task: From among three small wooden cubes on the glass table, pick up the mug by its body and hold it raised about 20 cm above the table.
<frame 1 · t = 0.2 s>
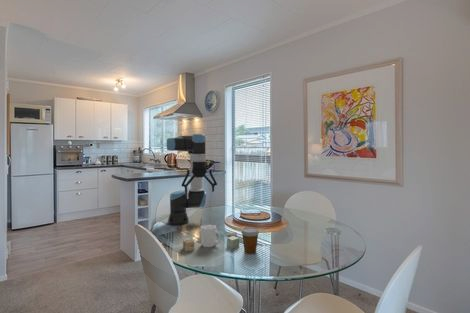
hand: (199, 197, 156), 28 cm above the table, fingers open, 13 cm apart
mug: (211, 245, 156), on the table
disposable coffee cup: (250, 251, 147), on the table
sage painted cube: (233, 246, 154), on the table
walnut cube: (232, 242, 161), on the table
oak cube: (188, 249, 151), on the table
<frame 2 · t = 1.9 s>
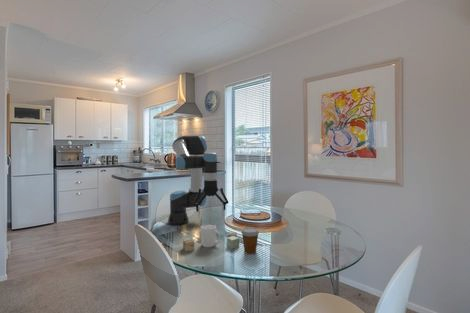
hand: (211, 216, 155), 17 cm above the table, fingers open, 13 cm apart
nothing on the table moved.
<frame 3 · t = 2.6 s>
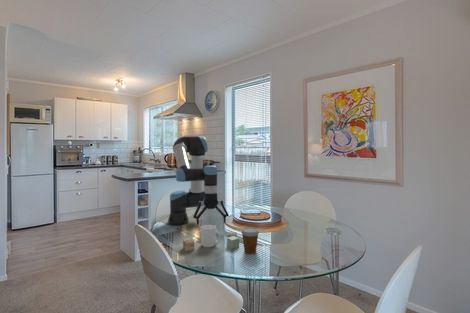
hand: (211, 229, 155), 10 cm above the table, fingers open, 13 cm apart
nothing on the table moved.
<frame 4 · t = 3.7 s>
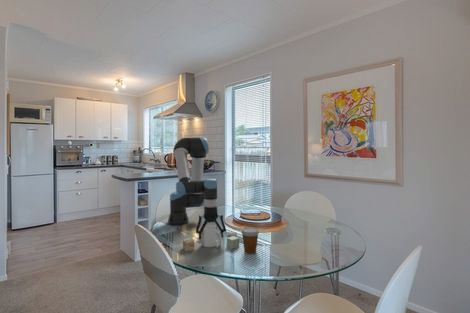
hand: (211, 244, 156), 1 cm above the table, fingers closed on mug, 10 cm apart
mug: (212, 245, 156), on the table, touching gripper
everything else where it was.
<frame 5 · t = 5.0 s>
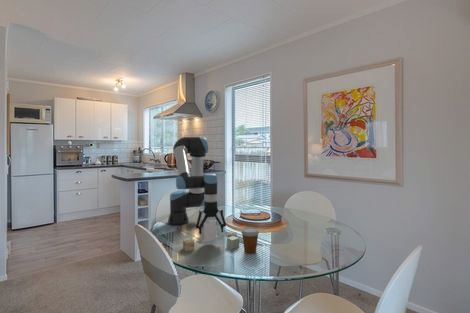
hand: (211, 238, 156), 4 cm above the table, fingers closed on mug, 10 cm apart
mug: (212, 240, 157), point 3 cm above the table, touching gripper
everything else where it was.
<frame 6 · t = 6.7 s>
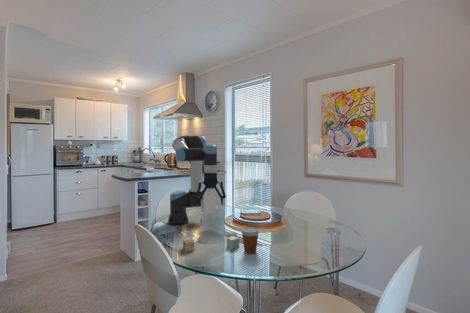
hand: (210, 210, 155), 20 cm above the table, fingers closed on mug, 10 cm apart
mug: (212, 212, 155), point 19 cm above the table, touching gripper
everything else where it was.
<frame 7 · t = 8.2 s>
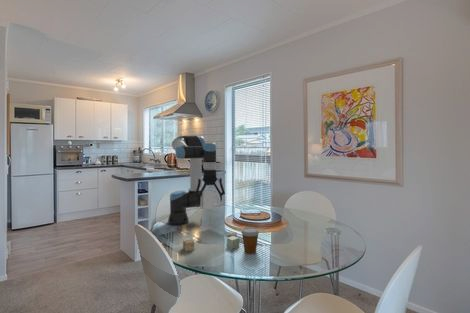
hand: (210, 206, 159), 22 cm above the table, fingers closed on mug, 10 cm apart
mug: (211, 208, 159), point 21 cm above the table, touching gripper
everything else where it was.
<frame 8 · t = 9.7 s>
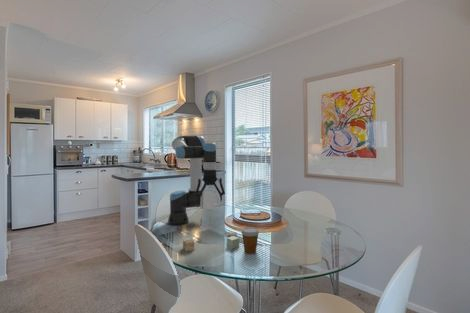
hand: (210, 206, 159), 22 cm above the table, fingers closed on mug, 10 cm apart
mug: (211, 208, 159), point 21 cm above the table, touching gripper
everything else where it was.
at the end: the gripper is holding mug; mug point 20.6 cm above the table; sage painted cube moved 0.1 cm from its start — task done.
